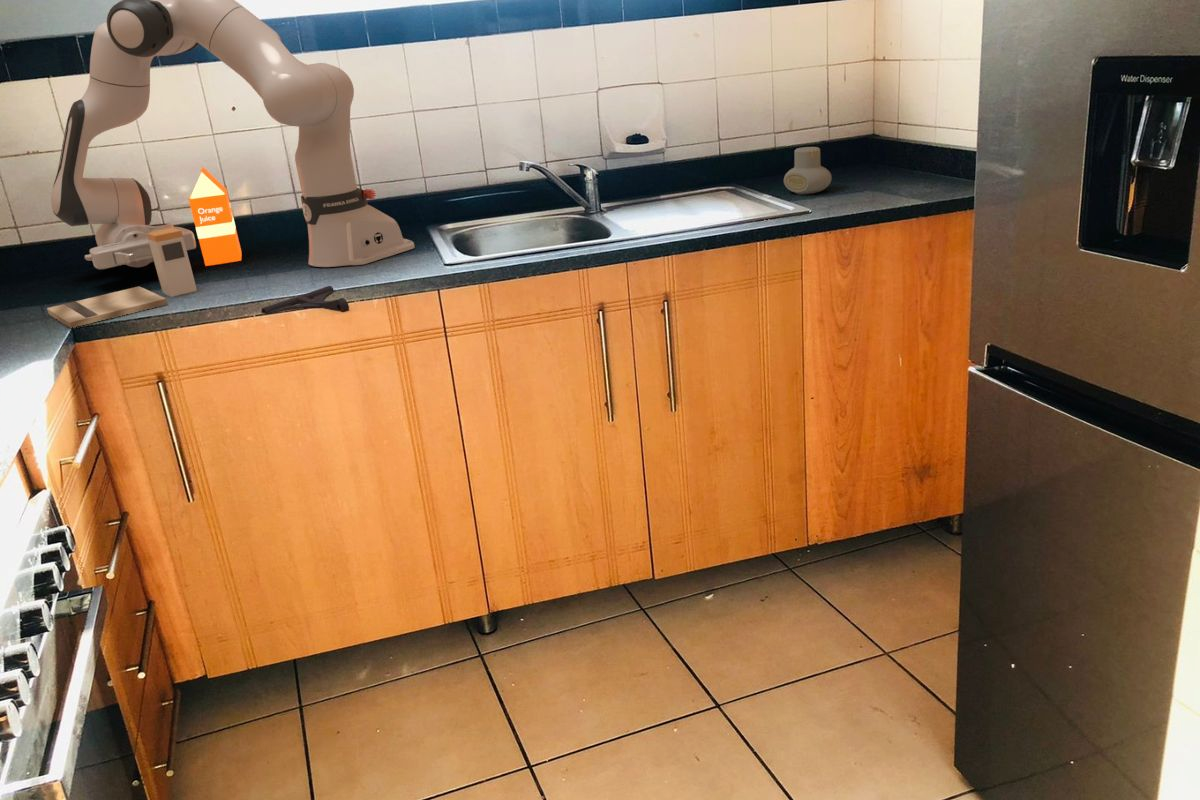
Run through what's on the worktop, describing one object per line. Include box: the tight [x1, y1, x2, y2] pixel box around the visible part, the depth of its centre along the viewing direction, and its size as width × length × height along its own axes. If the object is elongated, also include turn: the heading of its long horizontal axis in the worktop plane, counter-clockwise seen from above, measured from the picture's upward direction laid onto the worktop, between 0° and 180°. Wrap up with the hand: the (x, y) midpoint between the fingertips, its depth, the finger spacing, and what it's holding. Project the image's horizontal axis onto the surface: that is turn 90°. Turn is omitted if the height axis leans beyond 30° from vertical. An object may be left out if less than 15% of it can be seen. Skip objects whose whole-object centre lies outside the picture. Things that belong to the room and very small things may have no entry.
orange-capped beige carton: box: [146, 228, 198, 298], centre depth 184 cm, size 5×5×12 cm
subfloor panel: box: [46, 286, 168, 329], centre depth 179 cm, size 17×16×1 cm
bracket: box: [260, 285, 350, 315], centre depth 167 cm, size 14×15×3 cm
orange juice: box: [188, 166, 243, 267], centre depth 208 cm, size 8×9×20 cm
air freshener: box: [783, 146, 833, 196], centre depth 221 cm, size 11×8×10 cm
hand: (155, 253), depth 192 cm, fingers open, 8 cm apart
